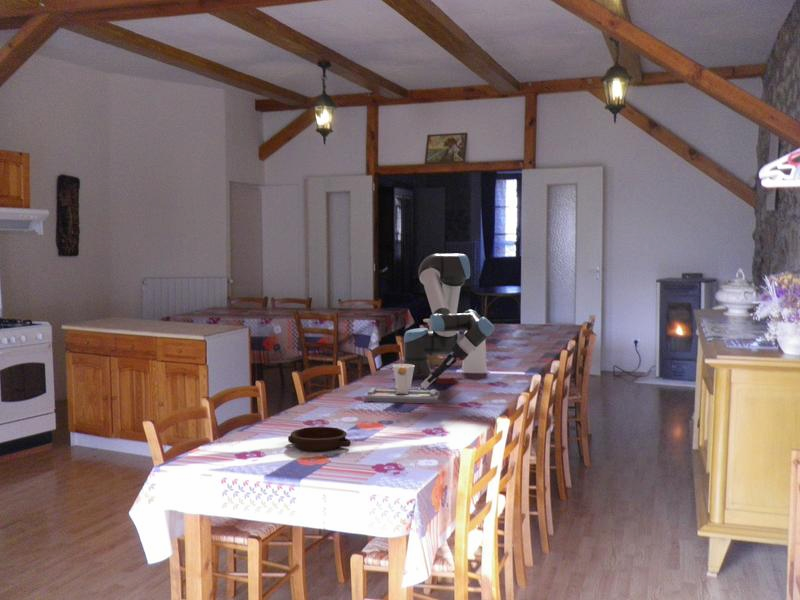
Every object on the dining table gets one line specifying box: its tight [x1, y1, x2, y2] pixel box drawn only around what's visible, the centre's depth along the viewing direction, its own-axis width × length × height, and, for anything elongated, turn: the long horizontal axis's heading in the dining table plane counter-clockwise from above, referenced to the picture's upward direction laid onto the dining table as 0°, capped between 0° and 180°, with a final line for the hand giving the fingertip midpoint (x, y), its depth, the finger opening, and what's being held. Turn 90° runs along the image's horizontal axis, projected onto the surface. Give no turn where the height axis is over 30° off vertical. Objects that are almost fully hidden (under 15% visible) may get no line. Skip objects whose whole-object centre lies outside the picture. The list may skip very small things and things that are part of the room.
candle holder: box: [422, 318, 446, 367], centre depth 423 cm, size 11×11×24 cm
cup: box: [392, 363, 415, 390], centre depth 351 cm, size 10×10×11 cm
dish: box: [287, 426, 352, 453], centre depth 257 cm, size 18×22×5 cm
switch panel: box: [364, 387, 440, 404], centre depth 332 cm, size 30×14×4 cm, turn 82°
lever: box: [395, 366, 411, 395], centre depth 332 cm, size 5×8×12 cm, turn 172°
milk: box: [461, 331, 488, 374], centre depth 400 cm, size 12×12×26 cm
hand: (423, 386), depth 331 cm, fingers closed
